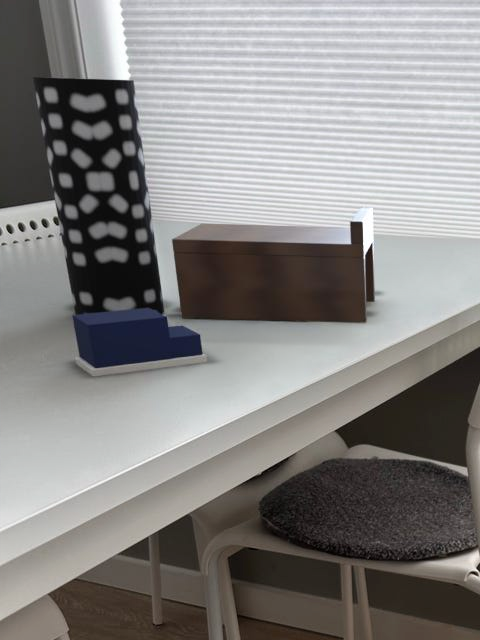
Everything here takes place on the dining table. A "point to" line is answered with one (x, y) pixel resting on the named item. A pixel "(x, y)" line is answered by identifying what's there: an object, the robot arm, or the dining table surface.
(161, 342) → the trainer
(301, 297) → the wooden storage chest
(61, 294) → the dining table surface
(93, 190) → the spotted tube
